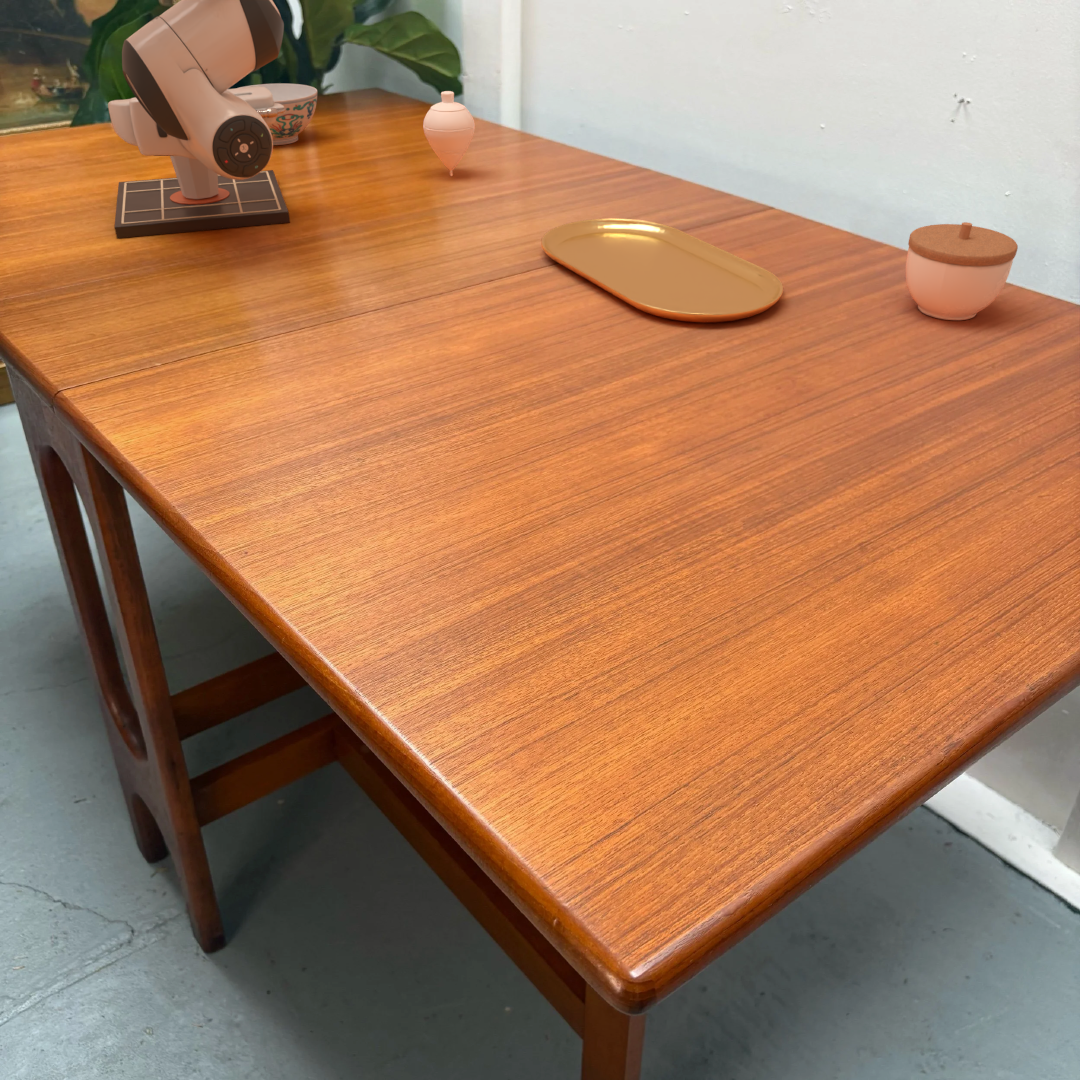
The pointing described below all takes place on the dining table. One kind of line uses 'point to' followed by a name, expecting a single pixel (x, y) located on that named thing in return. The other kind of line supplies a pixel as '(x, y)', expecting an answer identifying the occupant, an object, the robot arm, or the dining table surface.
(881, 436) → the dining table surface
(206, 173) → the faceted bottle
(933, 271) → the trinket box
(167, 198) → the grid board
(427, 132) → the spinning top
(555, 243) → the serving platter
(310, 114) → the chinaware
